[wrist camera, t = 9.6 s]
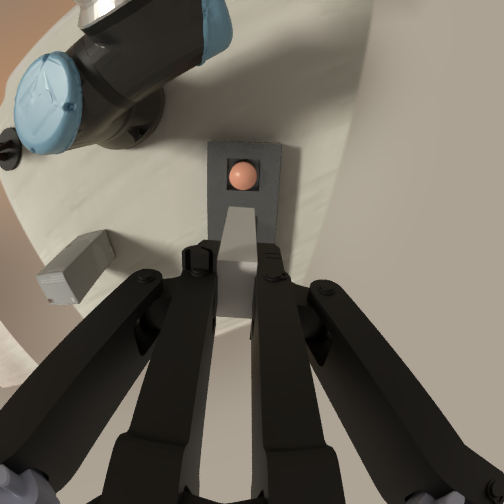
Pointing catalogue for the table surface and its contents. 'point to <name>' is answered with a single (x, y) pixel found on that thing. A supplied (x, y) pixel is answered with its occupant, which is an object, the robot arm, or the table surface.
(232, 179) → the coral button
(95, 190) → the table surface
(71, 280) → the skincare box
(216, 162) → the panel
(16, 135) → the figurine
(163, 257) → the table surface
